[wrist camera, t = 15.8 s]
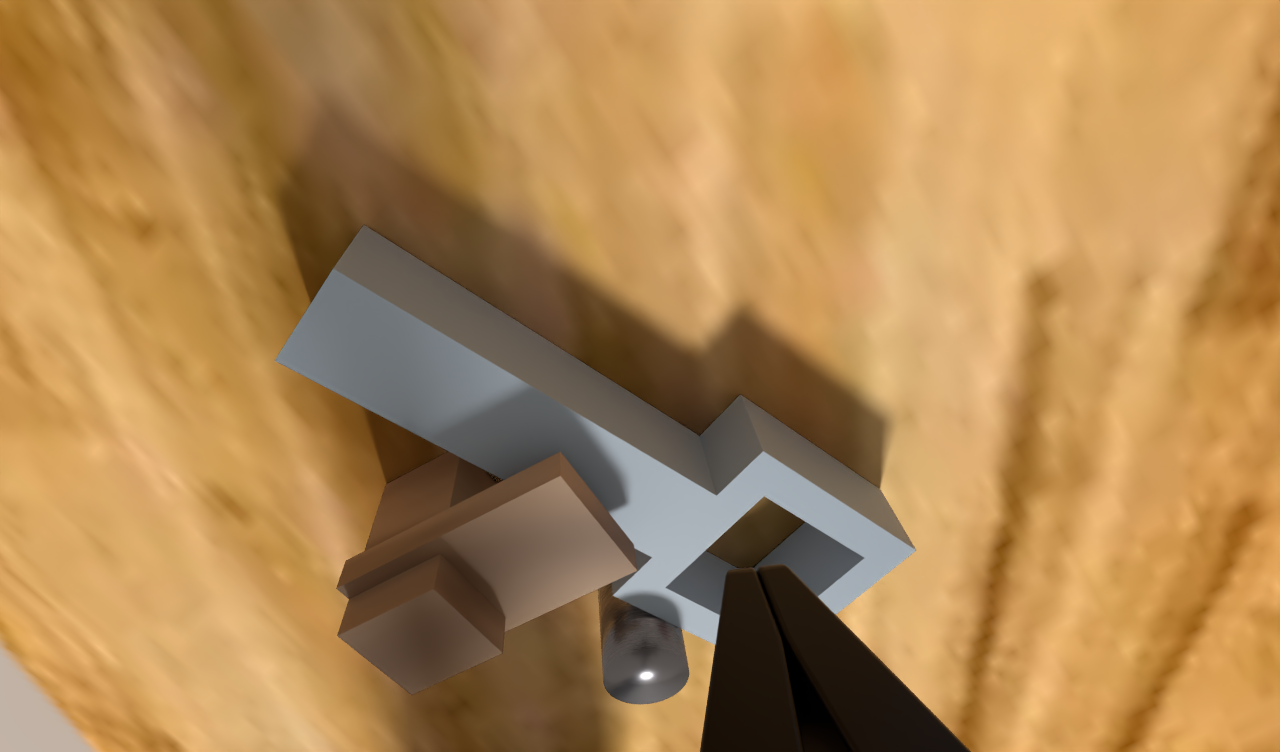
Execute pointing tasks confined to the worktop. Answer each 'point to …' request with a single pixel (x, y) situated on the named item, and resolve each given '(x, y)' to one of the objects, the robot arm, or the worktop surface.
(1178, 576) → the worktop surface
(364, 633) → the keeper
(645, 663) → the pintle
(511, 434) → the link
